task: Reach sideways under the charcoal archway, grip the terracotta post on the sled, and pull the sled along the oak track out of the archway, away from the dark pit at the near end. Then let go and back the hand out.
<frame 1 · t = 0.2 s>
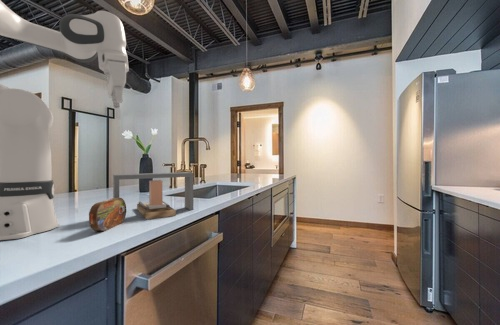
hand: (117, 105, 81), 39 cm above the countertop, tool pointing down, fingers open, 8 cm apart
tin: (109, 227, 72), on the countertop
archway: (155, 212, 92), on the countertop
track: (155, 211, 93), on the countertop
sled: (155, 193, 91), point 7 cm above the countertop, slide at 0.0 cm
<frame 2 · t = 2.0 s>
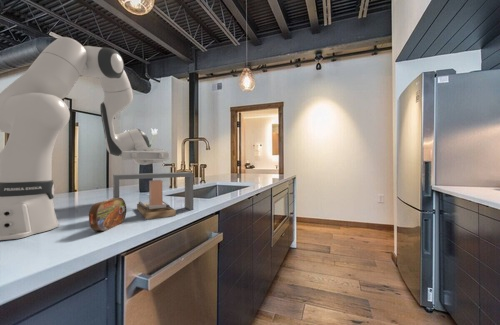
hand: (149, 155, 102), 22 cm above the countertop, tool horizontal, fingers open, 8 cm apart
nothing on the countertop moved.
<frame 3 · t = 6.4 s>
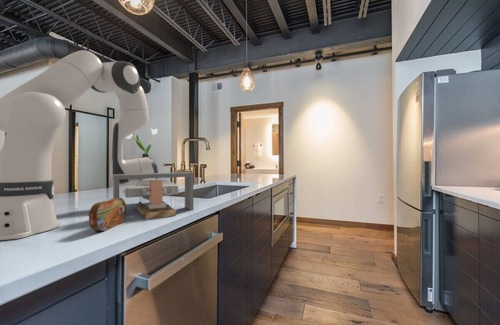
hand: (156, 192, 90), 8 cm above the countertop, tool horizontal, fingers closed on sled, 4 cm apart
sled: (155, 193, 91), point 7 cm above the countertop, slide at 0.0 cm, touching gripper
everything else where it was.
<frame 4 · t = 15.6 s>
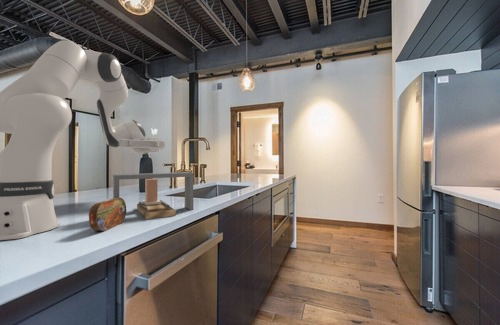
hand: (145, 143, 109), 28 cm above the countertop, tool horizontal, fingers open, 8 cm apart
sled: (151, 191, 99), point 7 cm above the countertop, slide at 9.0 cm
everything else where it was.
at the end: sled slide at 9.0 cm; the gripper is holding nothing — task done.
